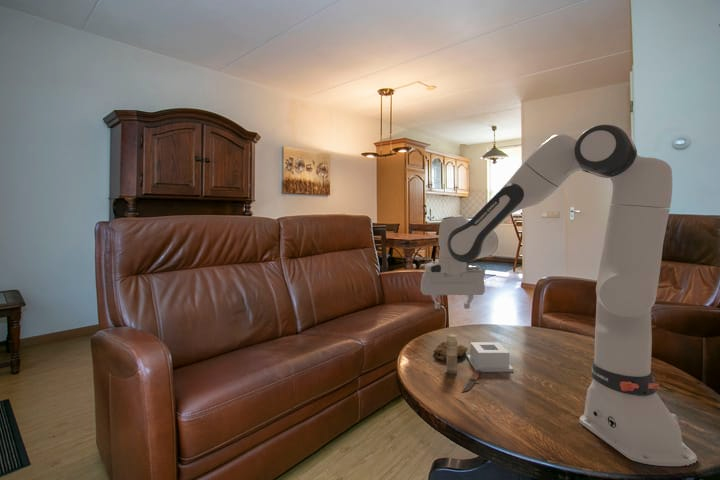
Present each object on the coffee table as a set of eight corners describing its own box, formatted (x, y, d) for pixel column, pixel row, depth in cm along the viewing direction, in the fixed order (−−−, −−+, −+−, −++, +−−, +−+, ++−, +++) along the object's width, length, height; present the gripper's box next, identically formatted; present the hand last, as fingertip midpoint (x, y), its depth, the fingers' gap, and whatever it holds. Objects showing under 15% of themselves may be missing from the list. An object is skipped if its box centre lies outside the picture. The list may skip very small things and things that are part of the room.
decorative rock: (460, 367, 125) (469, 354, 138) (461, 355, 125) (470, 343, 138) (428, 359, 130) (439, 347, 143) (428, 348, 130) (440, 337, 143)
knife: (472, 392, 104) (461, 390, 105) (472, 396, 104) (461, 393, 105) (484, 371, 118) (474, 369, 120) (484, 374, 118) (474, 372, 120)
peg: (458, 373, 118) (458, 337, 117) (447, 373, 118) (447, 337, 117) (455, 369, 121) (456, 334, 121) (445, 369, 121) (445, 334, 121)
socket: (513, 371, 119) (513, 353, 119) (476, 371, 119) (476, 353, 119) (500, 357, 131) (500, 341, 131) (466, 357, 131) (466, 341, 131)
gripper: (481, 264, 120) (481, 305, 121) (419, 264, 121) (419, 305, 122) (488, 267, 114) (487, 310, 115) (422, 267, 115) (422, 310, 116)
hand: (452, 308), depth 118 cm, fingers open, 8 cm apart
